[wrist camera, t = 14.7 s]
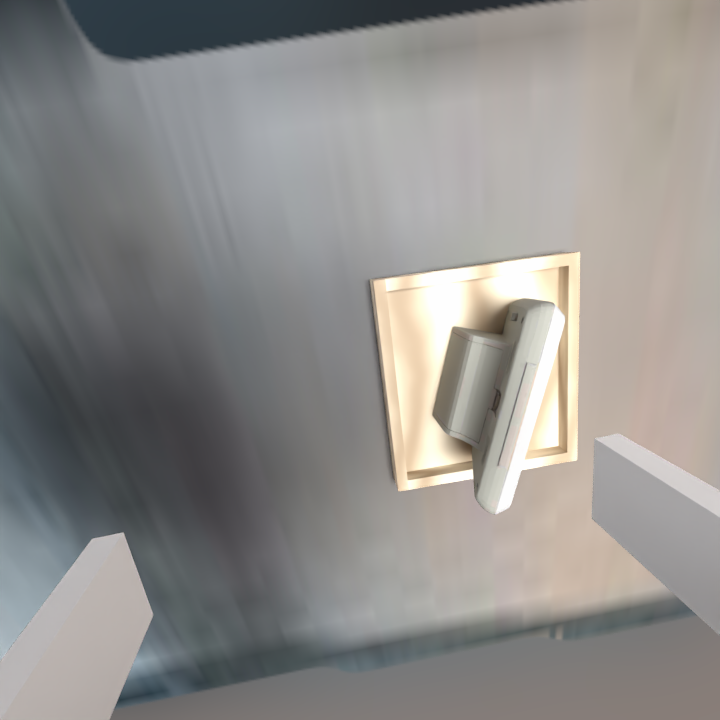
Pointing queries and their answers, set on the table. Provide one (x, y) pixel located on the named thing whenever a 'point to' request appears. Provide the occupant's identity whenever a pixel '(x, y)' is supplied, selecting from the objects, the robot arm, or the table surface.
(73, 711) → the robot arm
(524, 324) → the digital clock
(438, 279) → the birch tray
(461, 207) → the table surface
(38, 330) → the table surface
